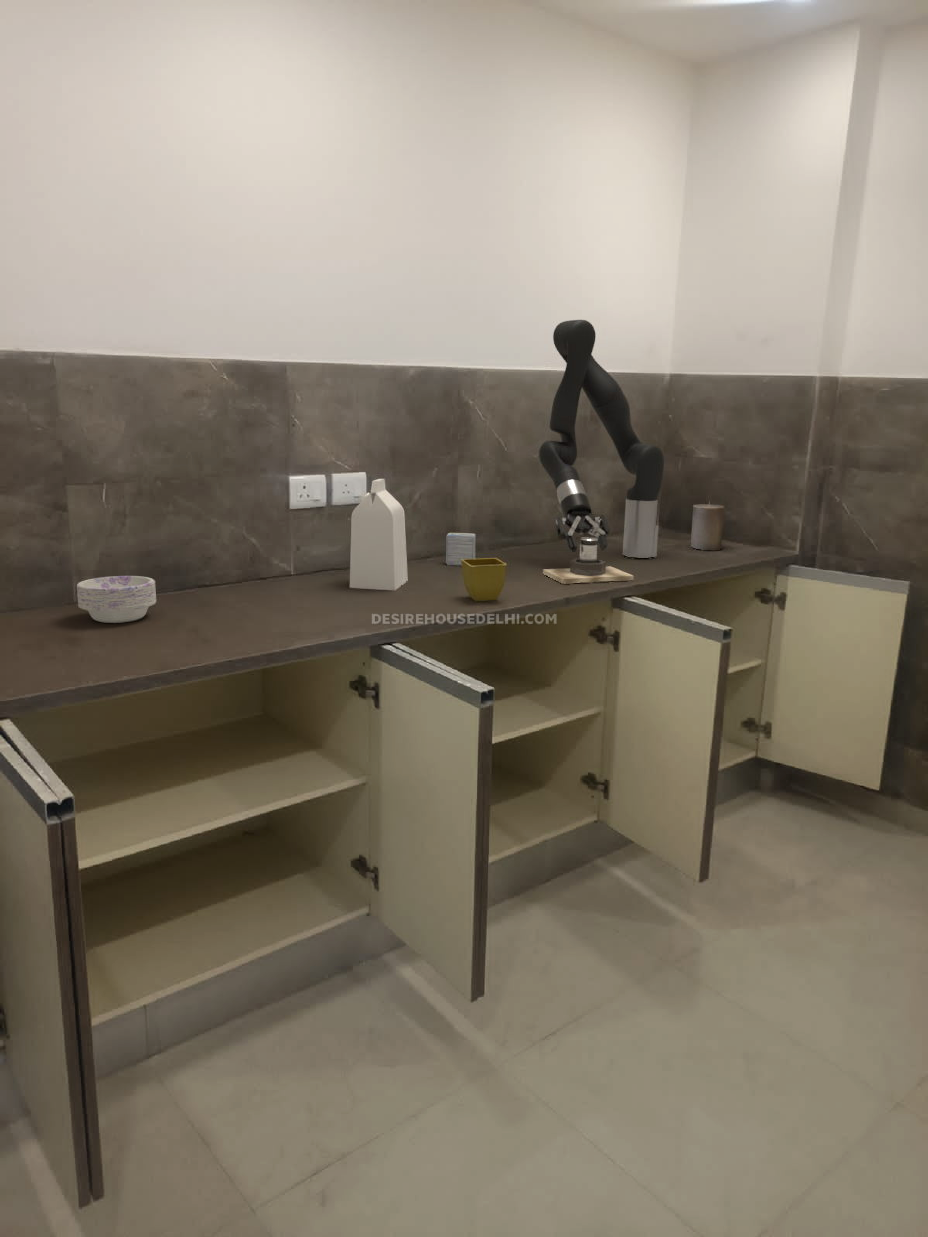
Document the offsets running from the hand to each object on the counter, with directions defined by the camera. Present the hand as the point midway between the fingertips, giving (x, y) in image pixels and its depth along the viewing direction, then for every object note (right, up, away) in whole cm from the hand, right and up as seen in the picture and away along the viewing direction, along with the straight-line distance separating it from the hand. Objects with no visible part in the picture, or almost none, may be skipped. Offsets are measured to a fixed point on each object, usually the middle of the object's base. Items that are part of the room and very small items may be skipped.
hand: (589, 549), depth 231 cm
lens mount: (0, -7, +2) cm, 8 cm away
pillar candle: (+44, +4, +52) cm, 68 cm away
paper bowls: (-105, -18, -47) cm, 116 cm away
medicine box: (-34, -3, +18) cm, 39 cm away
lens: (0, -6, +2) cm, 6 cm away
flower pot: (-29, -14, -24) cm, 40 cm away
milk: (-54, -10, -10) cm, 56 cm away
